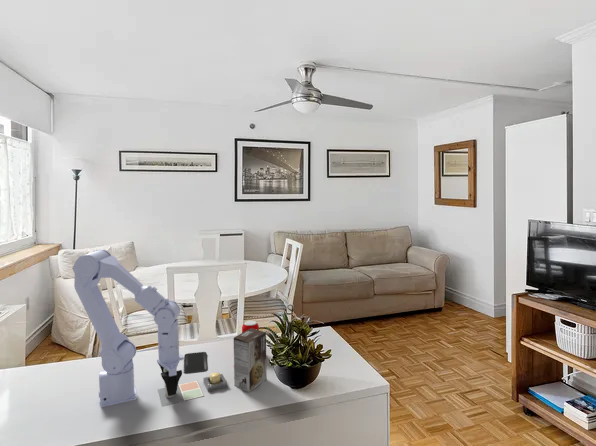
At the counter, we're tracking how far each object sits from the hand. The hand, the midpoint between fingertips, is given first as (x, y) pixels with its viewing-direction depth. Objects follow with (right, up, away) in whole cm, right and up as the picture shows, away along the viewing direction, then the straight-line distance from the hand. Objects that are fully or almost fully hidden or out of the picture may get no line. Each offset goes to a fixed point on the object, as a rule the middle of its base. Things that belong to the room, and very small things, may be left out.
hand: (170, 388), depth 114 cm
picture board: (+3, -3, +2) cm, 4 cm away
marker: (0, -2, 0) cm, 2 cm away
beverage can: (+20, 0, +29) cm, 35 cm away
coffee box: (+23, -2, +8) cm, 24 cm away
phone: (+2, -1, +21) cm, 21 cm away
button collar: (+12, -2, +6) cm, 14 cm away
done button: (+12, -1, +6) cm, 14 cm away
